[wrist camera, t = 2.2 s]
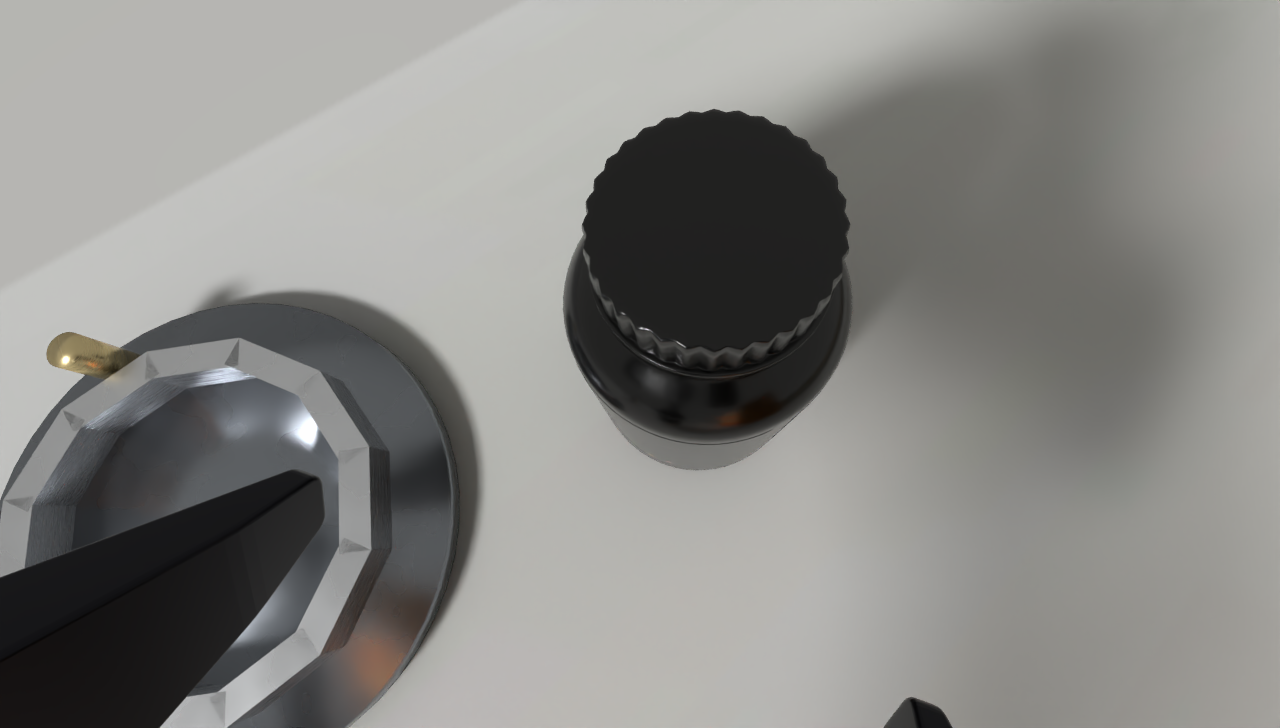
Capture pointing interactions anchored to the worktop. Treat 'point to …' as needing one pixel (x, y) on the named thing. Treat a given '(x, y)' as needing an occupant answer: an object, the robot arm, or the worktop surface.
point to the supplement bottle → (709, 286)
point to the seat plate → (244, 454)
